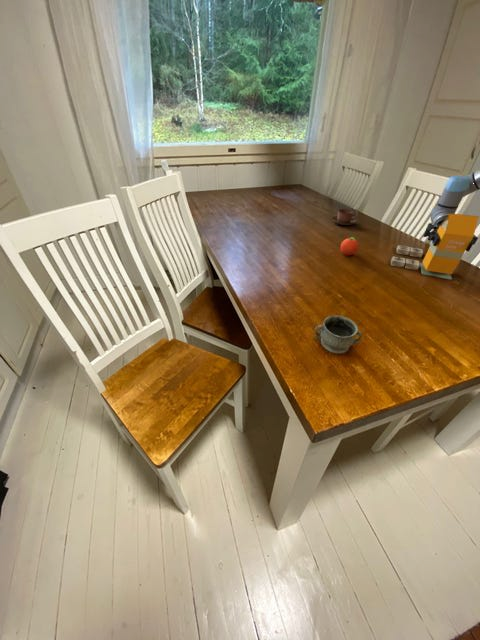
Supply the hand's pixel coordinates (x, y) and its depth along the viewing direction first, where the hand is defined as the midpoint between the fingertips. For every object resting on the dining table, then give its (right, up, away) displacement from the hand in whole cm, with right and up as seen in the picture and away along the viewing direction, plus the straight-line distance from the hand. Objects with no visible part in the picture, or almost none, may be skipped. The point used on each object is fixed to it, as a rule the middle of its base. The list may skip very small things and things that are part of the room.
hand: (452, 245), depth 95 cm
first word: (-1, +3, +23) cm, 23 cm away
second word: (-3, -6, +13) cm, 14 cm away
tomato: (-28, +2, +22) cm, 36 cm away
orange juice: (+2, -6, +10) cm, 12 cm away
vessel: (-49, -33, -21) cm, 62 cm away
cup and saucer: (-19, +26, +51) cm, 60 cm away
